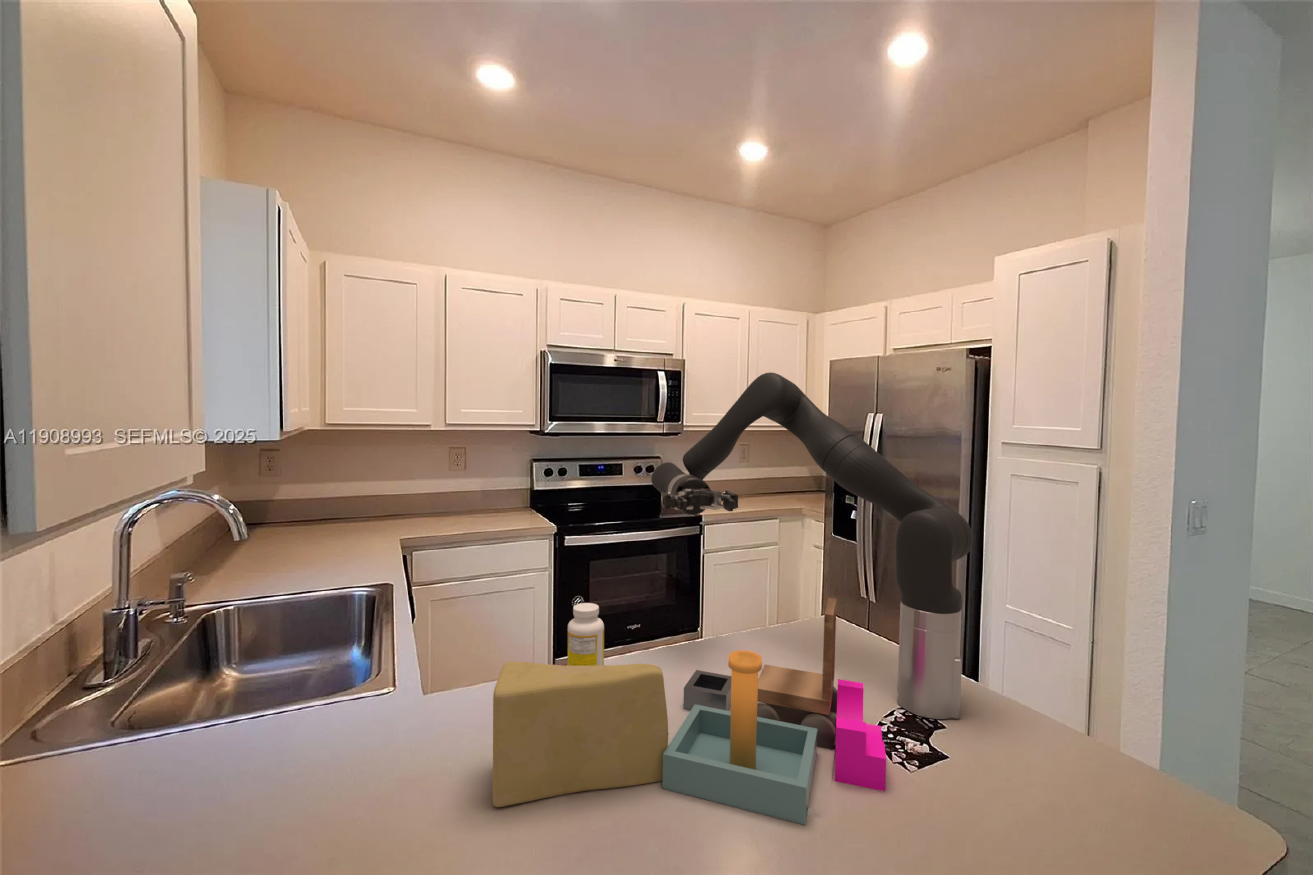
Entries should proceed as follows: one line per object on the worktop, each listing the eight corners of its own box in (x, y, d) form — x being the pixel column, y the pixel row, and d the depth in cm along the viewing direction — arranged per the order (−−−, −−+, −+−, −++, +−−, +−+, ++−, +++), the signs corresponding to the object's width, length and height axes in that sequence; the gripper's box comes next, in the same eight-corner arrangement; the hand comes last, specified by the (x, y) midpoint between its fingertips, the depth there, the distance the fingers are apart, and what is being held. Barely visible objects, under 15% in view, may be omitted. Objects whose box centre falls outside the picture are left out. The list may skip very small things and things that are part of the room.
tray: (816, 760, 82) (817, 728, 82) (805, 825, 69) (806, 788, 69) (694, 733, 88) (694, 704, 88) (662, 788, 75) (663, 754, 75)
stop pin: (761, 760, 80) (764, 653, 79) (755, 779, 76) (758, 667, 75) (730, 753, 82) (732, 648, 81) (722, 771, 77) (725, 661, 76)
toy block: (884, 792, 76) (886, 736, 75) (834, 782, 77) (836, 727, 77) (878, 733, 90) (880, 685, 89) (836, 726, 92) (837, 679, 91)
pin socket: (735, 703, 98) (736, 677, 98) (725, 723, 91) (726, 695, 91) (695, 695, 100) (696, 669, 100) (683, 715, 94) (683, 687, 94)
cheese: (662, 756, 83) (664, 651, 82) (671, 801, 73) (674, 683, 72) (502, 763, 80) (503, 656, 80) (490, 812, 70) (490, 690, 70)
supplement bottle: (584, 664, 112) (585, 598, 111) (611, 674, 108) (612, 605, 107) (559, 677, 106) (560, 607, 106) (586, 687, 103) (587, 615, 102)
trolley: (839, 715, 95) (843, 595, 94) (834, 756, 83) (838, 620, 82) (759, 699, 99) (762, 585, 98) (744, 737, 87) (747, 608, 87)
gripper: (654, 475, 119) (669, 485, 103) (722, 475, 121) (747, 484, 105) (654, 511, 119) (668, 527, 103) (721, 511, 122) (746, 526, 106)
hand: (708, 505), depth 104 cm, fingers open, 8 cm apart
